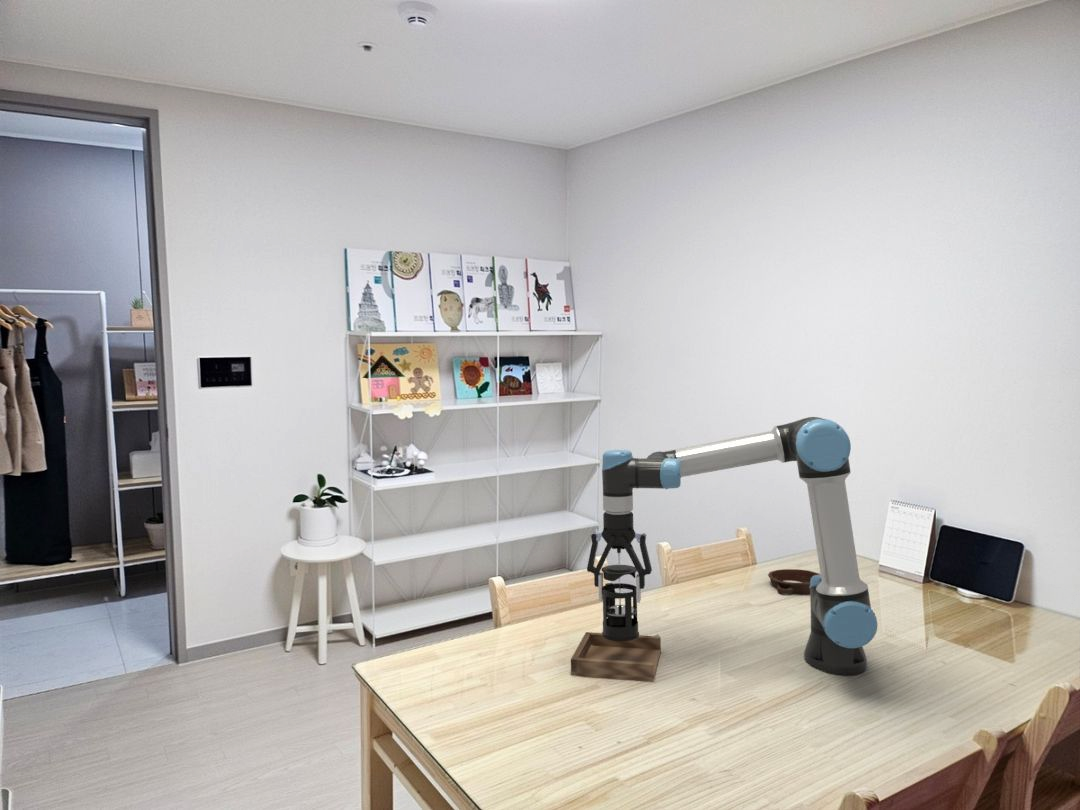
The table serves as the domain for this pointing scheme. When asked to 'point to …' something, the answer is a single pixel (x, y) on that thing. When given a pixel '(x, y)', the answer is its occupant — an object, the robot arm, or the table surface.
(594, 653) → the wooden tray
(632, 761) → the table surface
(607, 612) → the french press
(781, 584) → the dish
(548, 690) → the table surface
